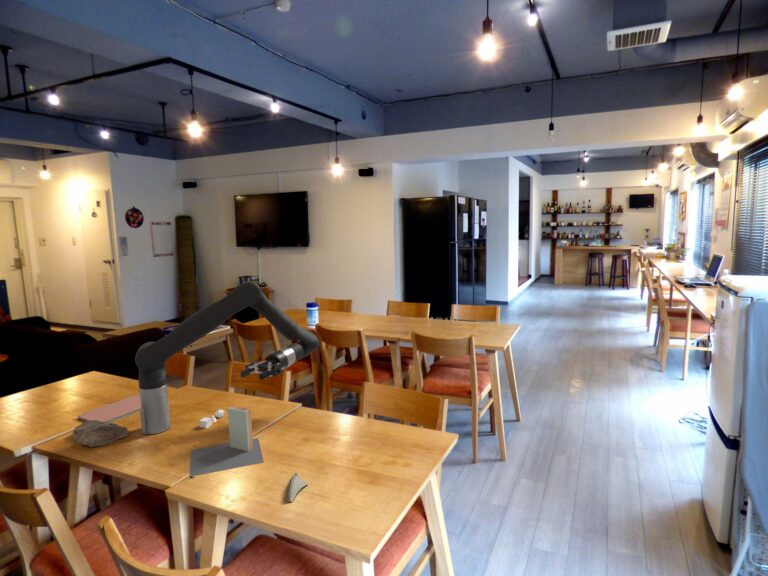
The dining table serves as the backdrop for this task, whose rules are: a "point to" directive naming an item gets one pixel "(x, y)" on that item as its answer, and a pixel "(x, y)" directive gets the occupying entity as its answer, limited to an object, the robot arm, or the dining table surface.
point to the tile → (240, 428)
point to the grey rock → (98, 433)
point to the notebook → (114, 410)
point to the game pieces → (210, 419)
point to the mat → (223, 458)
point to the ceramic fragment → (295, 487)
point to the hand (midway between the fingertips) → (250, 376)
